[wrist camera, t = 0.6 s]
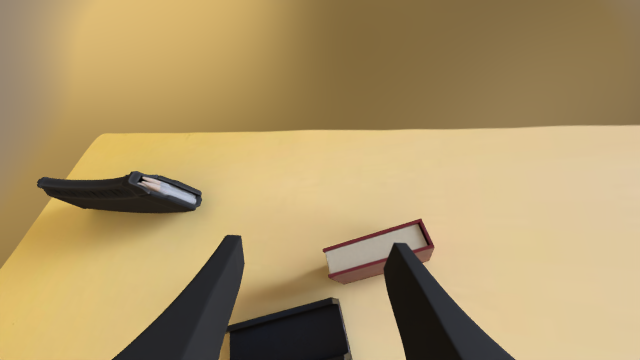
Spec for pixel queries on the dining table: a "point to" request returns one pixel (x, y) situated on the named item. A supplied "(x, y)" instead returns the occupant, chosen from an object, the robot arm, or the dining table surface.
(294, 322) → the rack
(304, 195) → the dining table surface
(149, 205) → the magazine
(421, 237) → the book
